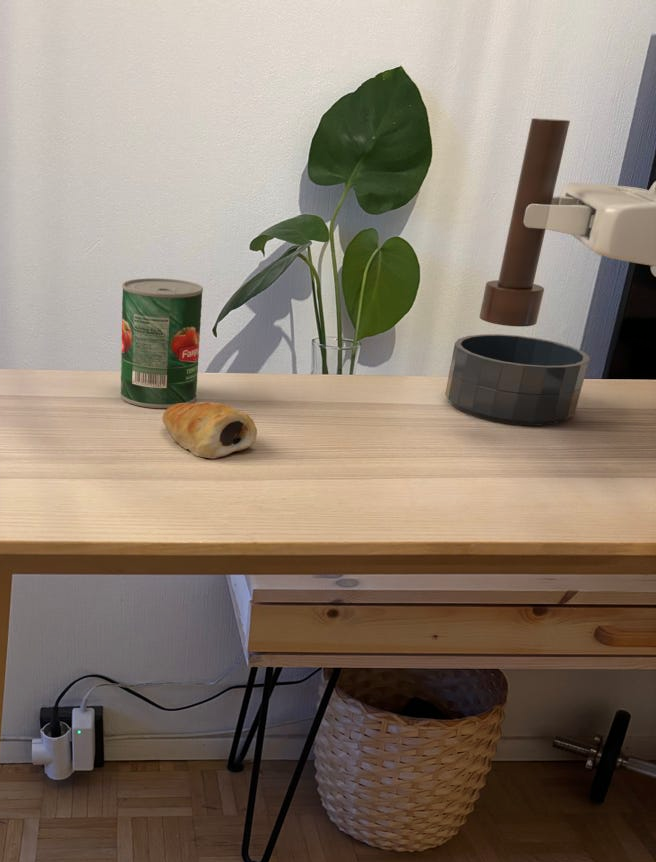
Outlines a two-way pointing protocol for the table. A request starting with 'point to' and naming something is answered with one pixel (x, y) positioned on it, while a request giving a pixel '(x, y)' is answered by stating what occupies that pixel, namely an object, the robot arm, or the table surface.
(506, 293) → the stirrer
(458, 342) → the bowl
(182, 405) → the pastry
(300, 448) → the table surface
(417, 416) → the table surface
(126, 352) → the canned tomato
